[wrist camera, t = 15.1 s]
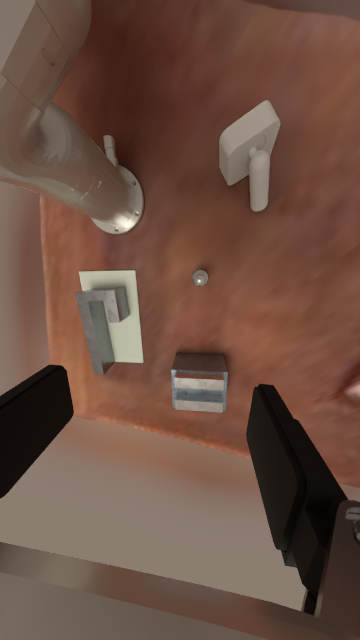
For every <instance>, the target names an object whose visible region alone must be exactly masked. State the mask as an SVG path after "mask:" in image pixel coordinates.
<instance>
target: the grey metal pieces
mask: <svg viewBox="0 0 360 640" xmlns="http://www.w3.org/2000/svg"><path fill="white" fill-rule="evenodd" d="M192 281H193V283H194V284H195V285H197V286H203V285H205V284H206V283H207V281H208V274H207V273H206V272H205V271H204V270H197V271H196V272H194V274H193V276H192ZM171 372H172V396H173V407H174V408H176V409H180V410H194V411H208V412H222V411H225V408H226V392H227V375H228V372H227V368H226V364H225V359H224V355H220V354H190V353H176V356H175V359H174V363H173V366H172V370H171Z"/></svg>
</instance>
